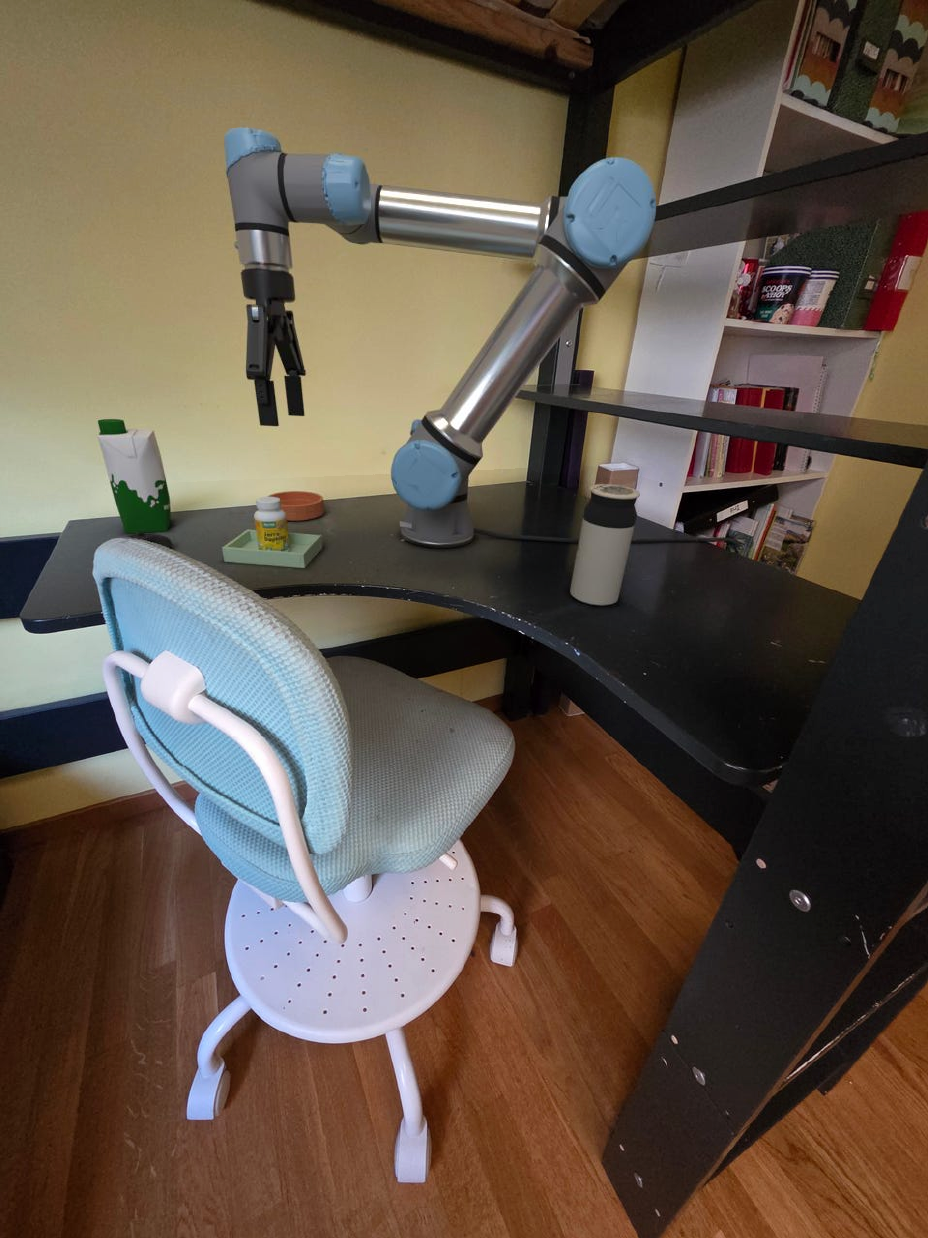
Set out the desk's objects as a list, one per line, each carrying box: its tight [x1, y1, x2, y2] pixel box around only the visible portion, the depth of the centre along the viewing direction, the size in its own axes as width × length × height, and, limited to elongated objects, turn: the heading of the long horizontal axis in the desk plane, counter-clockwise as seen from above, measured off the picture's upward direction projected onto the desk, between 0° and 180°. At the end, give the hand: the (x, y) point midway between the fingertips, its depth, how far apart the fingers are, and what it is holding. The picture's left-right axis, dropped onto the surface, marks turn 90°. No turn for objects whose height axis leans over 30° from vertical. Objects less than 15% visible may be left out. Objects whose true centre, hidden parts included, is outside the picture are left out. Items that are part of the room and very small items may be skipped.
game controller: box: [126, 532, 173, 549], centre depth 89 cm, size 10×5×6 cm
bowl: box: [266, 490, 325, 522], centre depth 115 cm, size 12×12×4 cm
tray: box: [221, 529, 323, 569], centre depth 93 cm, size 14×10×3 cm
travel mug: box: [569, 483, 641, 606], centre depth 82 cm, size 8×8×18 cm
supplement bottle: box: [253, 496, 290, 552], centre depth 91 cm, size 5×5×10 cm
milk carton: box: [97, 418, 172, 534], centre depth 97 cm, size 9×9×20 cm
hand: (284, 420), depth 87 cm, fingers open, 13 cm apart
